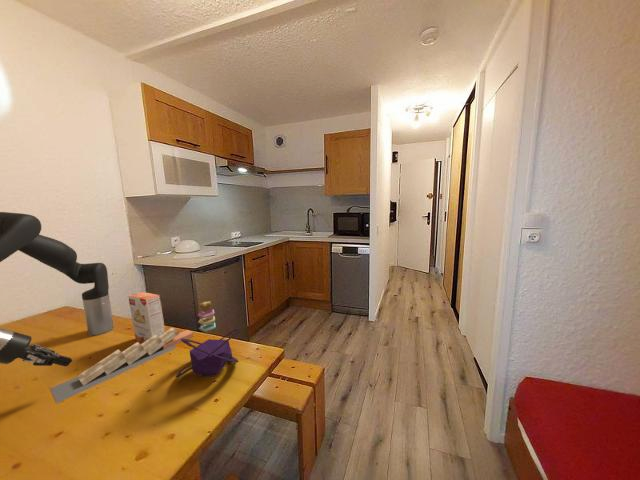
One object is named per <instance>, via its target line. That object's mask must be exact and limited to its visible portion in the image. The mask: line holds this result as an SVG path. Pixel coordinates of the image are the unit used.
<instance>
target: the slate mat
mask: <svg viewBox="0 0 640 480" xmlns="http://www.w3.org/2000/svg"><path fill="white" fill-rule="evenodd" d="M177 348H178V346H176V345H173V346H171V347H169V348H167V349H164V350H163V349H162V348H159V349H158V350H157V351H155V352H154V353H153V354H151V355H148V354H147V353H146V354H144V355H143V356H142V357H140V358H139V359H137V360H136V361H135V362H133V363H132V364H130V365H128V364H127V363H124V364H123V365H121V366H120V367H118V368H117V369H116V370H114V371H113V372H111V373H110V374H108V375H107V374H106V373H105V372H103V373H102V374H100V375H99V376H97V377H96V378H94V379H93V380H91V381H90V382H89V383H87V384H86V385H83V384H82V383H81V381H80V380H79V378H78V377H77V376H75V377H74V378H72V379H69V380H66V381H64V382H62V383H59V384H57V385H55V386H52V387H50V391H51V393H52V396H53V398H54V400H55V403H56V404H59V403H61V402H63V401H65V400H68V399H69V398H71V397H73V396H75V395H78V394H80V393H82V392H85V391H86V390H88V389H91V388H92V387H95V386H97V385H100V384H102V383H103V382H106V381H108V380H110V379H113V378H114V377H117V376H119V375H121V374H123V373H126V372H127V371H129V370H131V369H134V368H136V367H138V366H141V365H143V364H145V363H147V362H150V361H151V360H154V359H155V358H158V357H160V356H162V355H164V354H166V353H169V352H171V351H173V350H175V349H177Z"/></svg>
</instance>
